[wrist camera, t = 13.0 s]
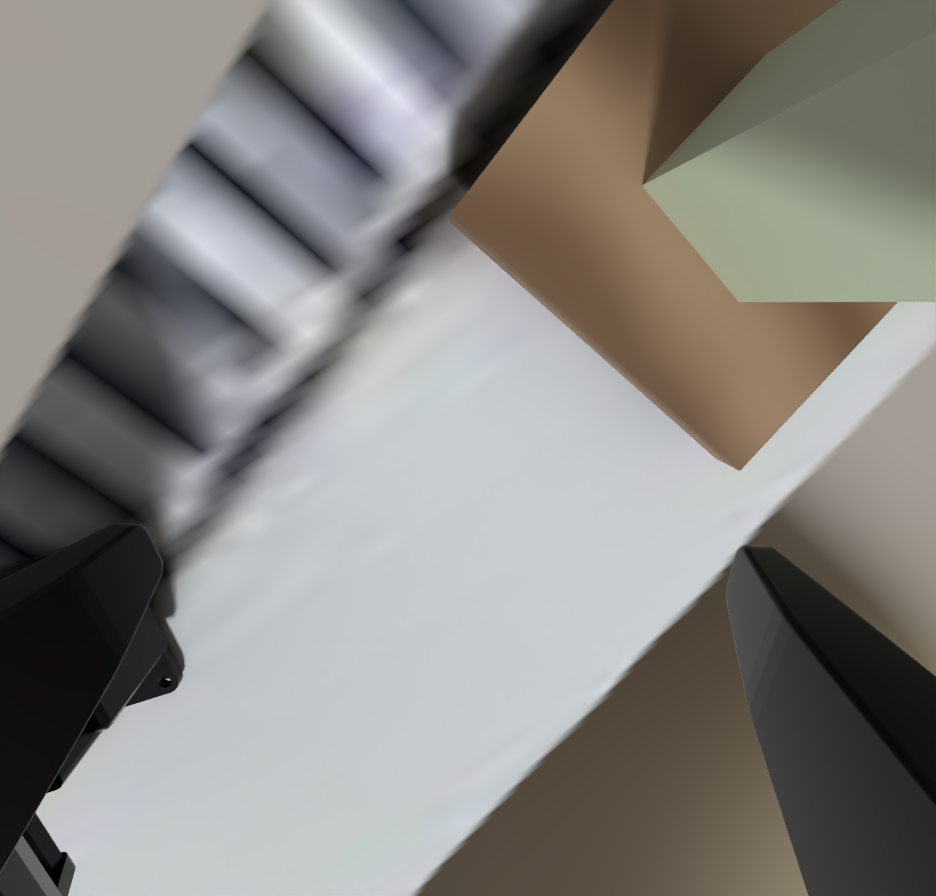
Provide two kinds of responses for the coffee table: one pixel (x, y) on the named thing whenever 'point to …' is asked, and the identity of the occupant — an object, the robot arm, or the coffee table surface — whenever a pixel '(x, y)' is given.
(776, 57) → the sage block
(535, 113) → the tan square board
